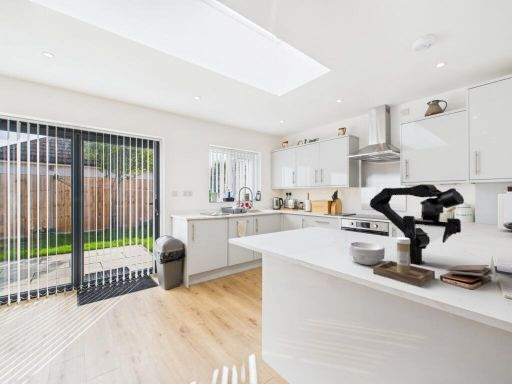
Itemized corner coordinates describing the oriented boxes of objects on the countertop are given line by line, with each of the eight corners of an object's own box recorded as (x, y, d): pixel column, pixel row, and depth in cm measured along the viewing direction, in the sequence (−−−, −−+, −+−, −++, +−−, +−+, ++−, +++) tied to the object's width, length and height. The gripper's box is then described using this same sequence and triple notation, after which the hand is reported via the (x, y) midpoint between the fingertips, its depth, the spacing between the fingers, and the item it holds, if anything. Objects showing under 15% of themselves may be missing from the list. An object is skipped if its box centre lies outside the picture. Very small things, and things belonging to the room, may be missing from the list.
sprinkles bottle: (412, 272, 90) (412, 238, 90) (407, 275, 88) (407, 239, 87) (399, 269, 94) (399, 236, 94) (394, 272, 91) (394, 237, 91)
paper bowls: (389, 268, 99) (389, 249, 99) (351, 266, 102) (351, 248, 102) (378, 258, 114) (378, 242, 114) (345, 256, 117) (345, 240, 117)
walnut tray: (390, 266, 101) (390, 260, 101) (434, 278, 88) (434, 271, 88) (373, 273, 93) (373, 266, 93) (419, 286, 80) (419, 279, 80)
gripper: (403, 196, 101) (397, 225, 93) (460, 197, 89) (459, 230, 81) (407, 213, 107) (401, 241, 99) (461, 216, 94) (460, 249, 86)
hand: (428, 240), depth 91 cm, fingers open, 9 cm apart
